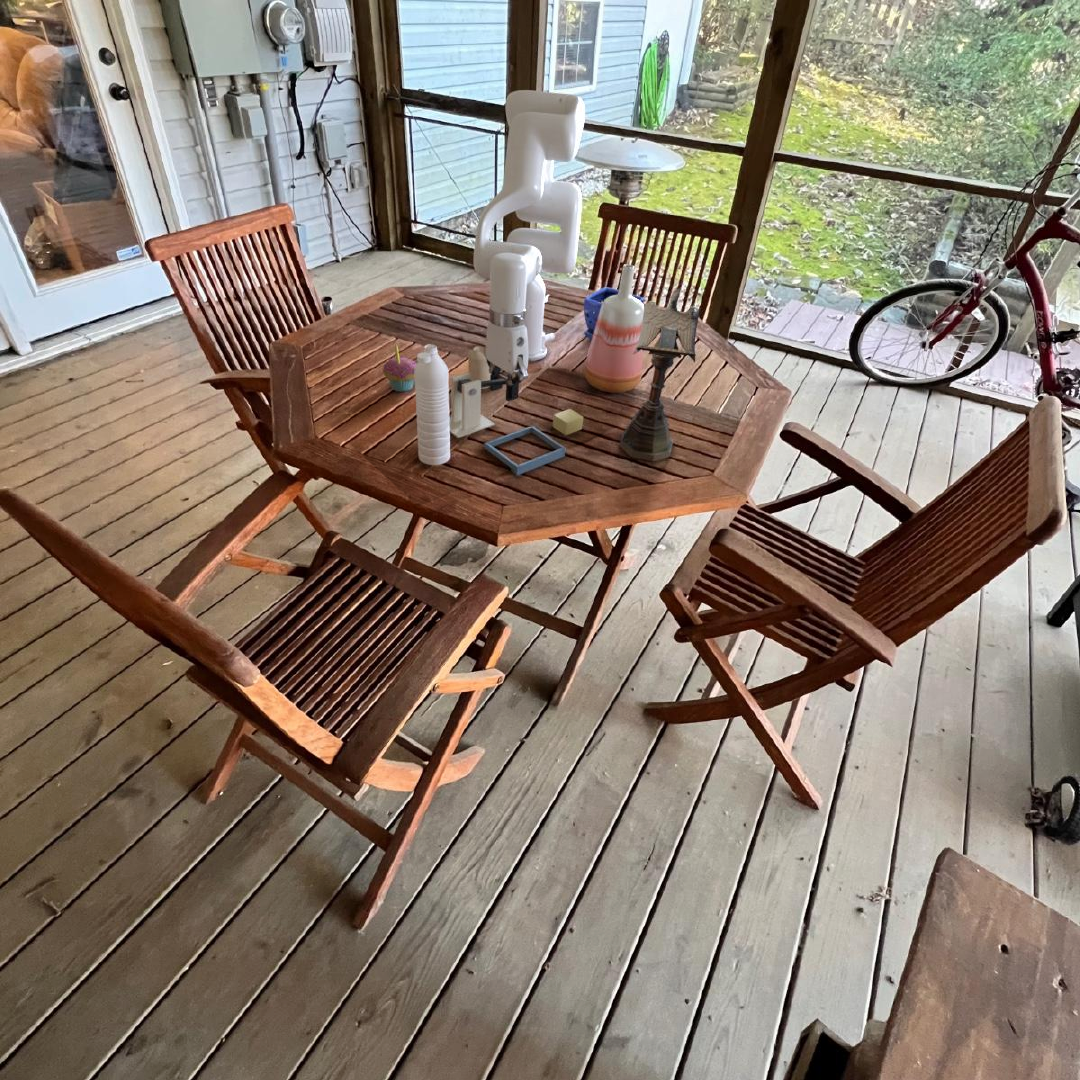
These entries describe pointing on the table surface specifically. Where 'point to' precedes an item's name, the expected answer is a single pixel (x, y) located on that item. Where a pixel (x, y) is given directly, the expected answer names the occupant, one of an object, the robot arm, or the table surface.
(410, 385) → the cupcake
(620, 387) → the vase
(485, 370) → the candle
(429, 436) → the water bottle
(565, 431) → the butter
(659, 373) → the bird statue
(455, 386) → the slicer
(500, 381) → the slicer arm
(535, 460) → the dish
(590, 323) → the flower pot
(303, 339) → the table surface
